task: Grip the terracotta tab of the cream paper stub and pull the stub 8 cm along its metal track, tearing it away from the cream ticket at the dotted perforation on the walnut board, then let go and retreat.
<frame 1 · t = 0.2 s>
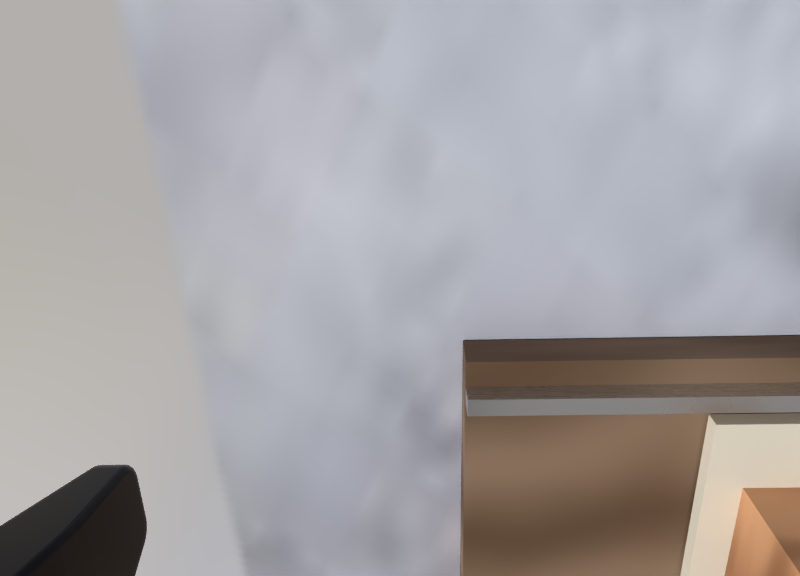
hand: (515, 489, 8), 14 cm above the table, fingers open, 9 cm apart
ticket board: (782, 502, 26), on the table
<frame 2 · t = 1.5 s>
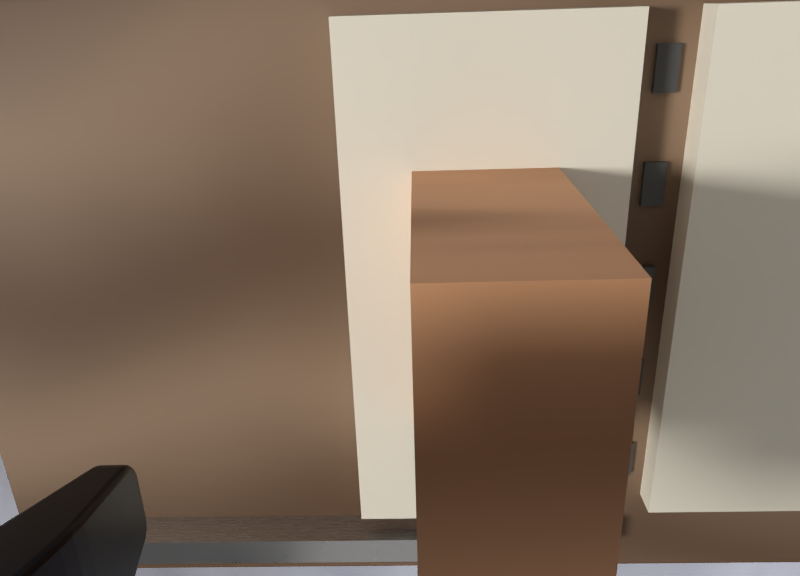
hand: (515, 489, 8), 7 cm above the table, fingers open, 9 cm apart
ticket board: (548, 259, 15), on the table
stub: (495, 361, 11), point 4 cm above the table, slide at 0.0 cm
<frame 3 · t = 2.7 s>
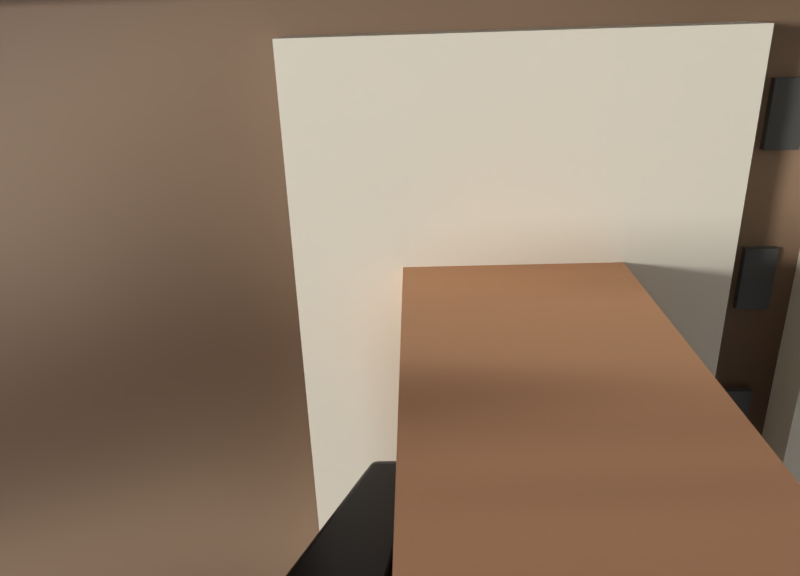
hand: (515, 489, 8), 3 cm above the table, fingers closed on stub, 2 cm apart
ticket board: (591, 361, 11), on the table
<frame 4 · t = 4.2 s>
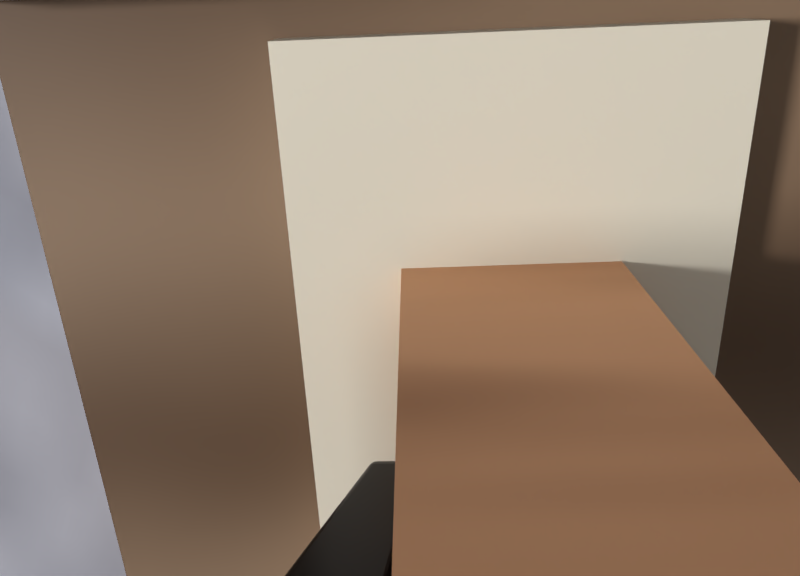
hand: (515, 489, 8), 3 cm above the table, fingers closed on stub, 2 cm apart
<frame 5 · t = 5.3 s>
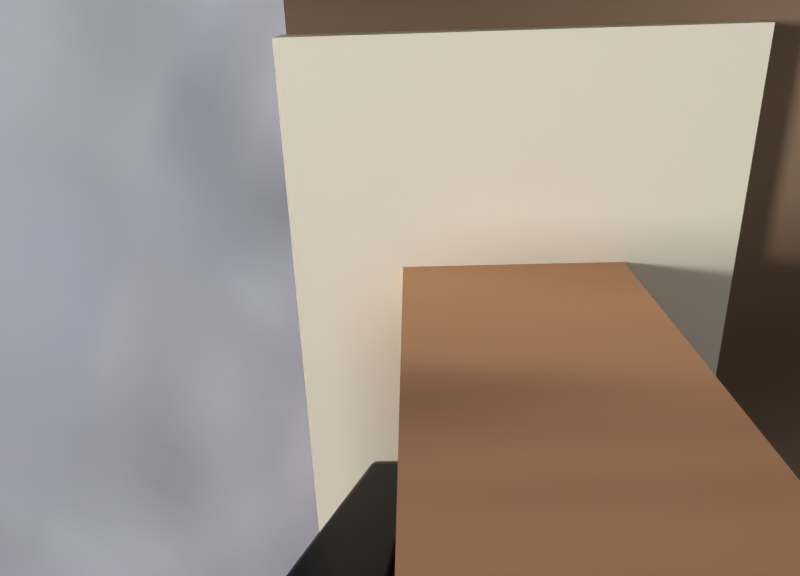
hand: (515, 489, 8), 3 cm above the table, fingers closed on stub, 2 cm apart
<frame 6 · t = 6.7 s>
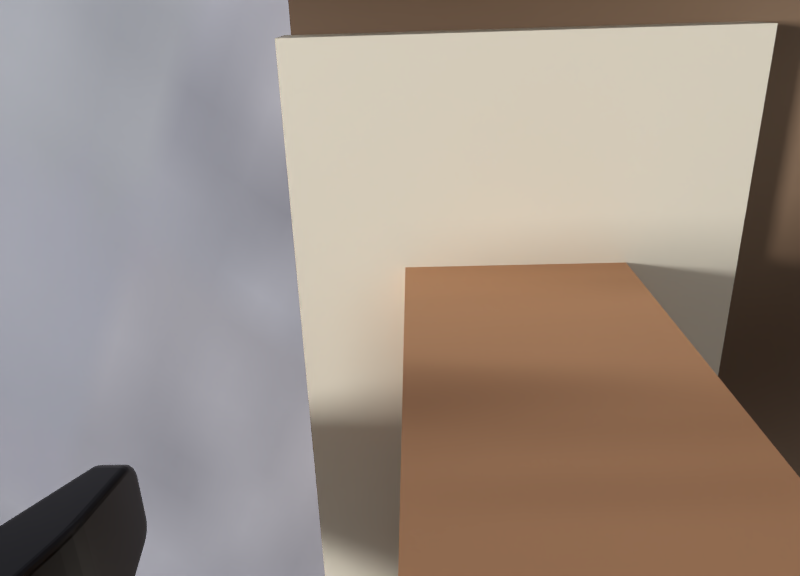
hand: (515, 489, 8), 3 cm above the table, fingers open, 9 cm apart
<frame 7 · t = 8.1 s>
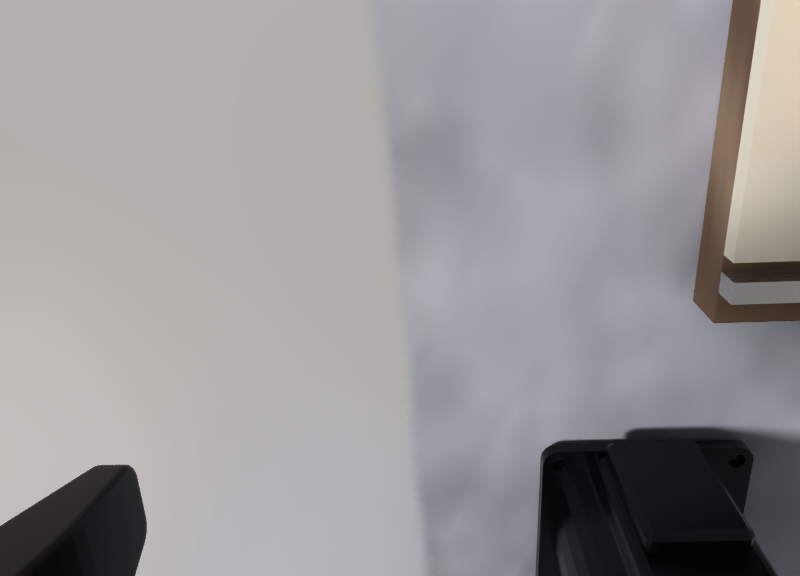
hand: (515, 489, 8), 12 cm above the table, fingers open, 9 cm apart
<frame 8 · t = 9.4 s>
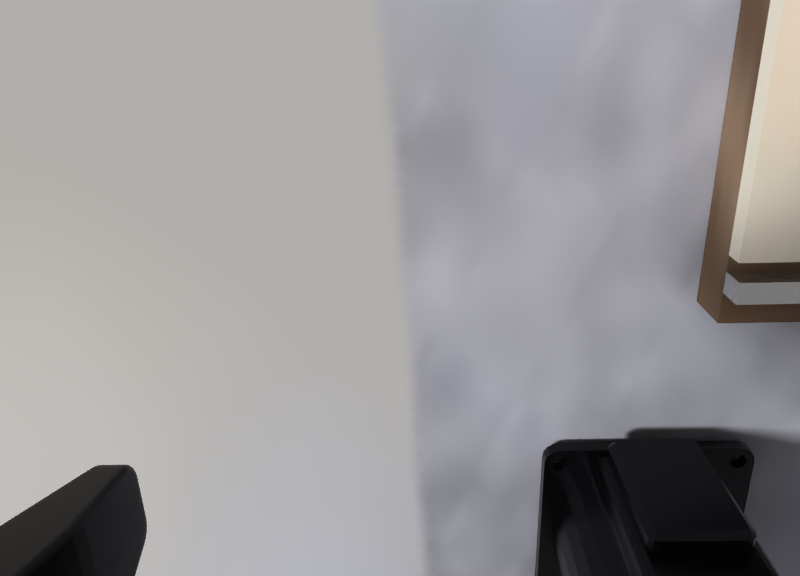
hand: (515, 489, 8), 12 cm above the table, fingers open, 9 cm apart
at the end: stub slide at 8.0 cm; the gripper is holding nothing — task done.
